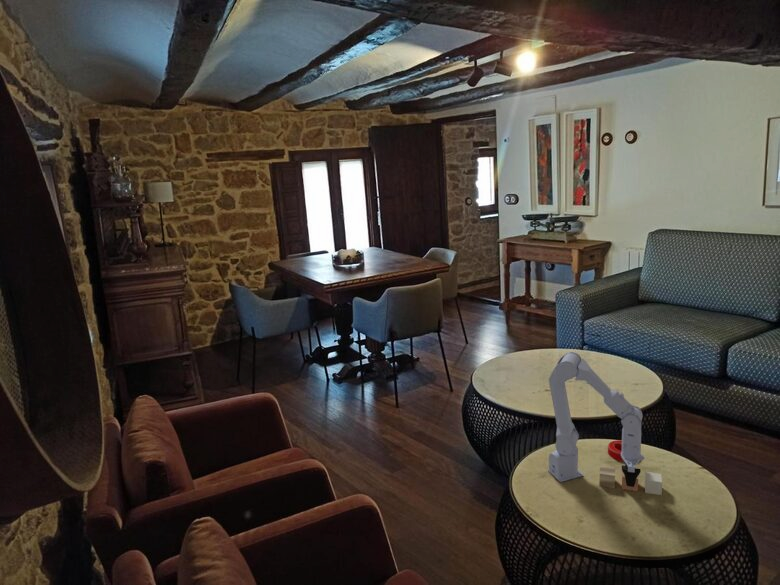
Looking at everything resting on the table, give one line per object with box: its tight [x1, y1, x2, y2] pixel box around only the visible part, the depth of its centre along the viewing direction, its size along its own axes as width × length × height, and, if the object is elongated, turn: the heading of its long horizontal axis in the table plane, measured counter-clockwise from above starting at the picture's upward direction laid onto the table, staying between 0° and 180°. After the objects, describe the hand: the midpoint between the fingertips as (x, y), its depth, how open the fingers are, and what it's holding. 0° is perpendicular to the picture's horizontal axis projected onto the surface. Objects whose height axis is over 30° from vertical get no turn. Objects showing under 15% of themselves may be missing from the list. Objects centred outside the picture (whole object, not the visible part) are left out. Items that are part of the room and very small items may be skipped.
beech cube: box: [598, 465, 616, 488], centre depth 183 cm, size 5×5×5 cm
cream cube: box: [644, 471, 663, 496], centre depth 177 cm, size 5×5×5 cm
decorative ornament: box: [607, 439, 624, 462], centre depth 199 cm, size 10×10×3 cm
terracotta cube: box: [621, 470, 639, 492], centre depth 180 cm, size 5×5×5 cm
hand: (630, 479), depth 180 cm, fingers open, 7 cm apart
